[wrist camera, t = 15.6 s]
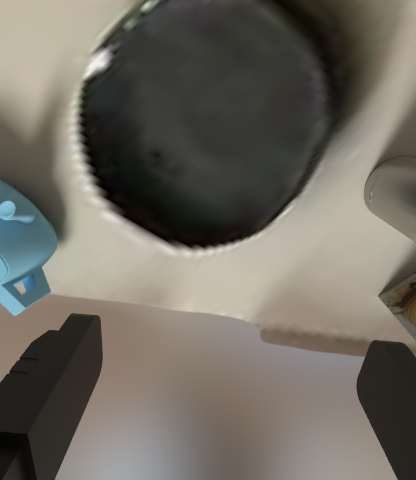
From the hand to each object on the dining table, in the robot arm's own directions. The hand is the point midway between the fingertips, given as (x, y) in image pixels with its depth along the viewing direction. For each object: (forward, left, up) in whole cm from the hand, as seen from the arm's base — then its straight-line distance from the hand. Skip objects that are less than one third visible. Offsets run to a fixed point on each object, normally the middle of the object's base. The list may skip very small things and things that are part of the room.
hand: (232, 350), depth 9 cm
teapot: (+30, +12, -38) cm, 50 cm away
